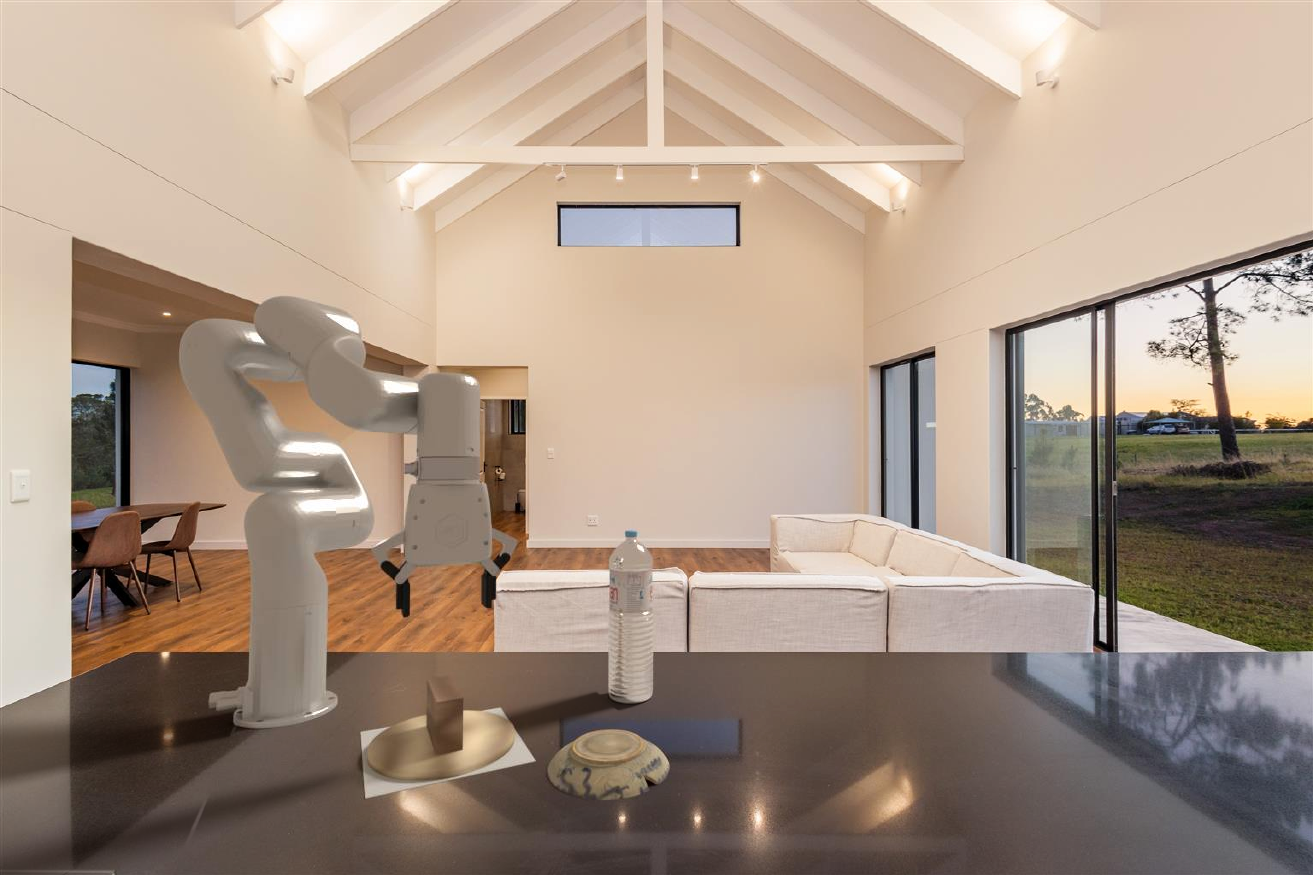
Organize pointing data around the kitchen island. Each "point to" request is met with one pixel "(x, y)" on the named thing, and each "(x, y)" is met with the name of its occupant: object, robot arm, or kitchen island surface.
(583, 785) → the decorative bowl
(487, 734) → the lid
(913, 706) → the kitchen island surface
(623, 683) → the water bottle
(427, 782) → the mat
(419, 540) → the robot arm
